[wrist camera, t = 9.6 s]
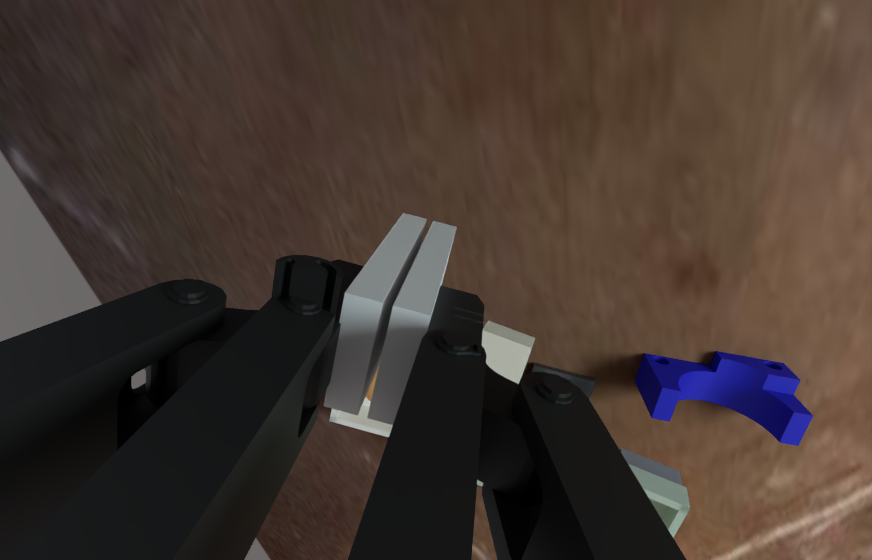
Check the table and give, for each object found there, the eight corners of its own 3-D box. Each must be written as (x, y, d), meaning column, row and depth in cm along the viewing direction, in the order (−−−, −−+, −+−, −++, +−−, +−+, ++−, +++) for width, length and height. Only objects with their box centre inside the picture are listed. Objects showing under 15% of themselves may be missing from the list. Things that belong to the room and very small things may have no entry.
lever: (446, 430, 50) (429, 463, 46) (485, 303, 45) (470, 325, 40) (653, 518, 46) (657, 564, 41) (723, 389, 41) (737, 425, 36)
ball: (401, 399, 51) (370, 385, 52) (409, 370, 50) (377, 355, 51) (385, 417, 48) (352, 401, 49) (392, 386, 47) (359, 371, 48)
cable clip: (782, 362, 46) (820, 400, 41) (763, 403, 48) (798, 445, 43) (648, 337, 47) (668, 372, 42) (634, 379, 49) (651, 417, 43)
